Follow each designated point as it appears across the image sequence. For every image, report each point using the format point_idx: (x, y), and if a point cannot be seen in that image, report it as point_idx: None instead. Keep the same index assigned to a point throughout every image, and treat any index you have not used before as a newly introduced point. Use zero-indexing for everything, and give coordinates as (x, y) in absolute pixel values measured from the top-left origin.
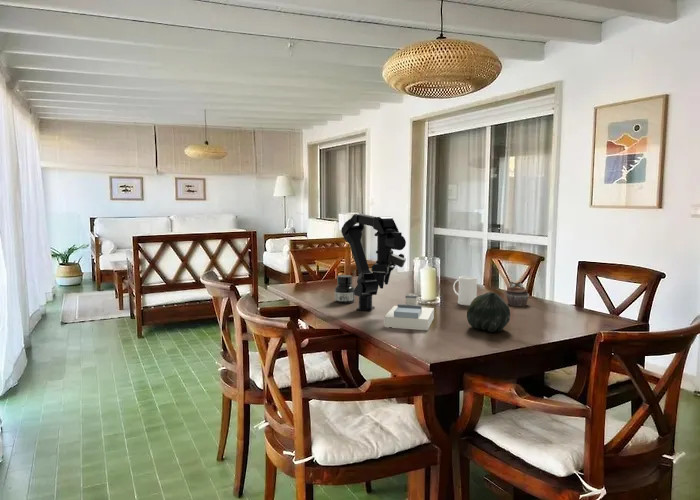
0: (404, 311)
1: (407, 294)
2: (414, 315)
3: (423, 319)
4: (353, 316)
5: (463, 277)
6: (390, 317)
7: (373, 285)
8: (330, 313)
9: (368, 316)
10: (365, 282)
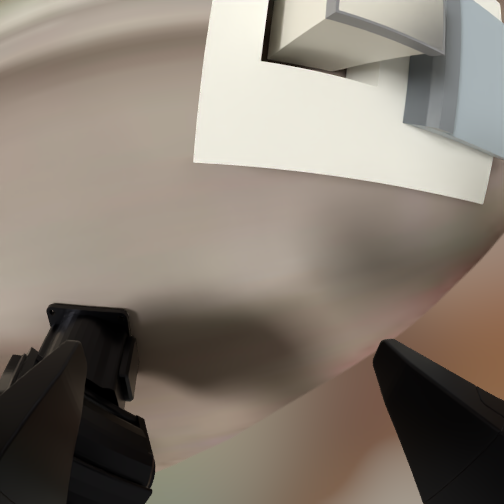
0: None
1: (387, 20)
2: None
3: (499, 19)
4: (265, 358)
5: None
6: (488, 172)
7: (80, 430)
8: (228, 430)
9: (253, 298)
10: (151, 491)
